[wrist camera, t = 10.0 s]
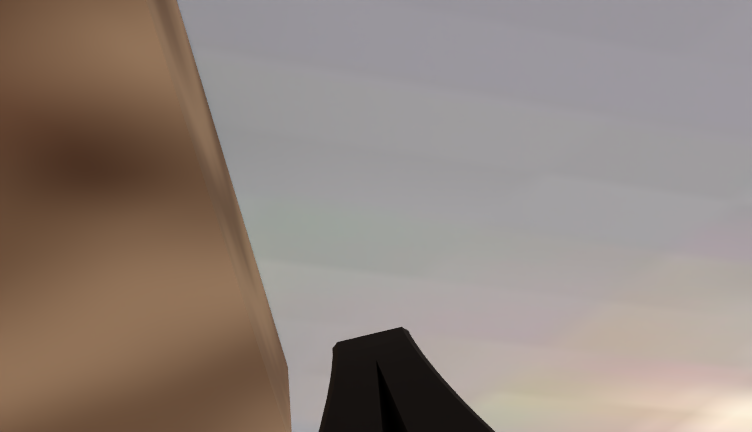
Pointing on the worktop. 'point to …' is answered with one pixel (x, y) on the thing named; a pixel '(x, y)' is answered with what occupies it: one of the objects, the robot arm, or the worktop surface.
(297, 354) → the worktop surface
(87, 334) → the butcher block
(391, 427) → the robot arm
